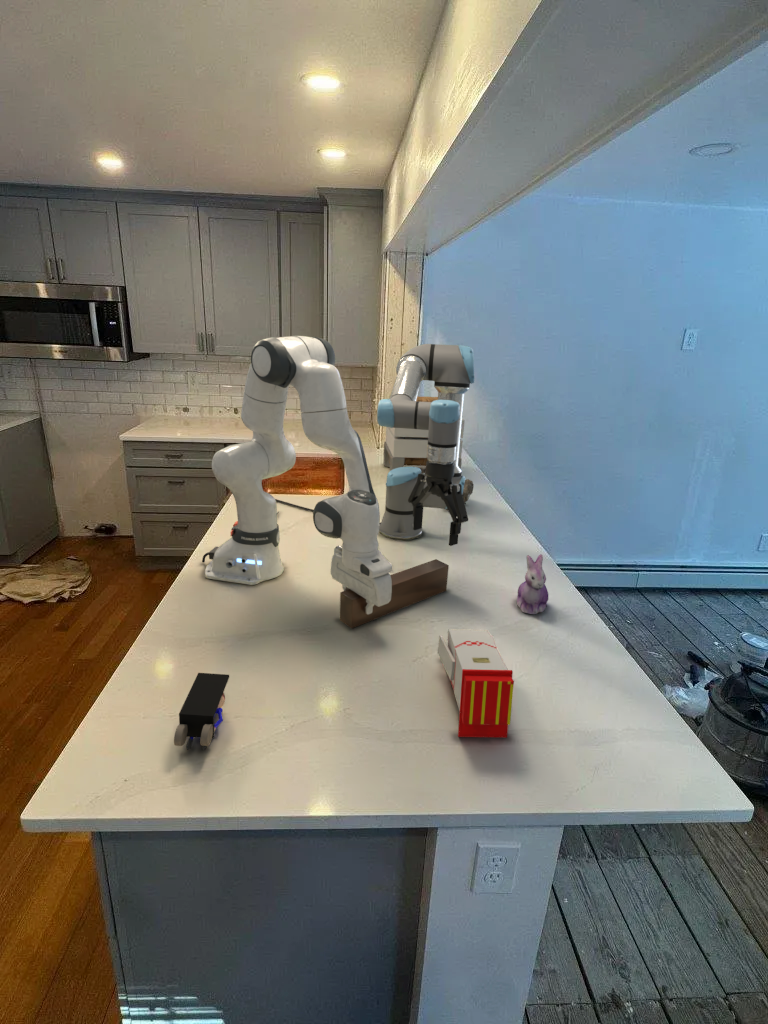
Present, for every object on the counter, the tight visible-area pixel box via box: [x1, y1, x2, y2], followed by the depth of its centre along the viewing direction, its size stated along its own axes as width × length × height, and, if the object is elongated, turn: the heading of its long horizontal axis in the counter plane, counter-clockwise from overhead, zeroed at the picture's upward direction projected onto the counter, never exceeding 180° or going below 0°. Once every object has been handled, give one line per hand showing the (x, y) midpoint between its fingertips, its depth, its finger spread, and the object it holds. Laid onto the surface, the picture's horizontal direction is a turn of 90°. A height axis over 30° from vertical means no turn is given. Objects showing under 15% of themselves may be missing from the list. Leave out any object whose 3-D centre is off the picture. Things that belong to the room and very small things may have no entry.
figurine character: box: [173, 672, 230, 751], centre depth 104 cm, size 7×8×15 cm
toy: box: [437, 628, 515, 738], centre depth 117 cm, size 12×13×30 cm
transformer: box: [383, 395, 465, 472], centre depth 268 cm, size 34×33×41 cm
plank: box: [339, 558, 450, 630], centre depth 151 cm, size 5×34×8 cm, turn 131°
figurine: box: [516, 553, 549, 615], centre depth 151 cm, size 9×10×15 cm
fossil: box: [444, 478, 475, 512], centre depth 232 cm, size 22×10×15 cm
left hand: (358, 606), depth 143 cm, fingers open, 6 cm apart
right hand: (434, 536), depth 155 cm, fingers open, 13 cm apart
